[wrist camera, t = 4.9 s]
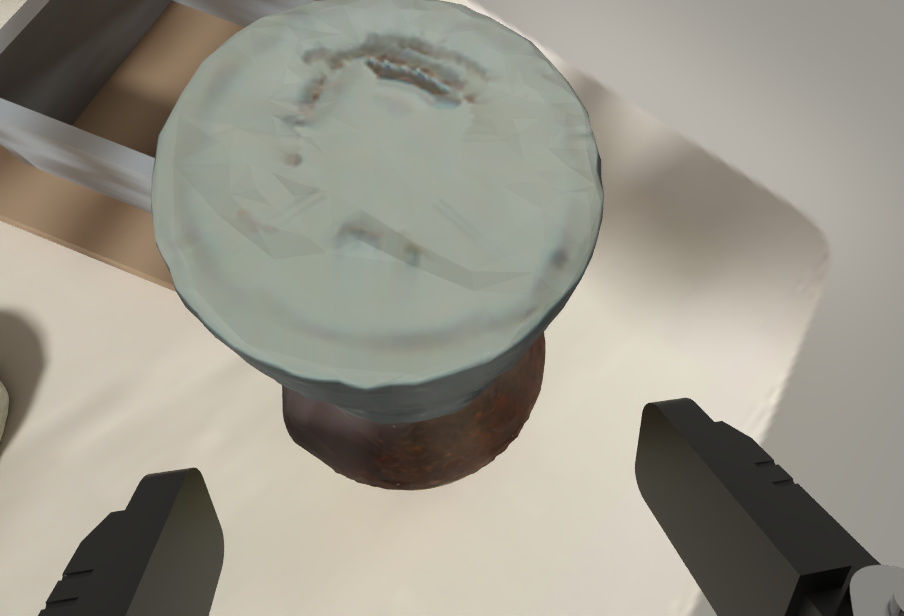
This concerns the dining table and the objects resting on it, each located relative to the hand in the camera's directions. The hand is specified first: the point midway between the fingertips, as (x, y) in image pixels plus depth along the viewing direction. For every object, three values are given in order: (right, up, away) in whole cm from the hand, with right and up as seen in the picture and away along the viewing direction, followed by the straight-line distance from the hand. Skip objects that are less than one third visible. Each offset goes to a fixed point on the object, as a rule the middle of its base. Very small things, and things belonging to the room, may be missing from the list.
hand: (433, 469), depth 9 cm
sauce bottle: (-1, -2, +14) cm, 14 cm away
